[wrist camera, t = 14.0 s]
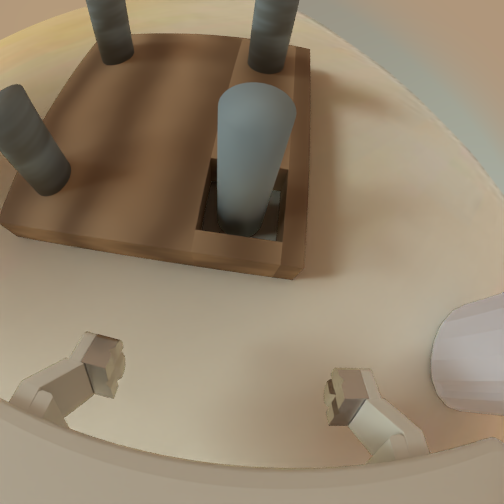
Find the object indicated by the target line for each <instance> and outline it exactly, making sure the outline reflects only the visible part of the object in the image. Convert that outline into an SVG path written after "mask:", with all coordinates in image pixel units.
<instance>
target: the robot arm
mask: <svg viewBox="0 0 504 504" xmlns="http://www.w3.org/2000/svg"><path fill="white" fill-rule="evenodd" d="M122 349H123V343H122V341H121V340H118V339H114V338H110V337H106V336H103V335H99V334H94V333H91V332H86V333H84V334H83V336H82V338H81V339H80V341H79V342H78V344H77V346H76V347H75V349H74V351H73V352H72V354H71V356H70V357H69V359H68V358H64V359H62V360H61V361H59V362H57V363H55V364H53V365H51V366H49V367H47V368H45V369H43V370H41V371H39V372H37V373H36V374H34V375H32V376H30V377H28V378H26V379H24V380H22V381H21V383H20V385H19V386H18V388H17V389H16V391H15V393H14V394H13V396H12V398H11V399H10V401H9V402H7V401H5V400H3V399H1V398H0V504H504V443H503V442H501V441H500V440H498V439H497V438H494V437H490V438H486V439H483V440H480V441H477V442H473V443H470V444H467V445H463V446H460V447H456V448H452V449H448V450H444V451H440V452H436V453H431V454H430V451H429V449H428V446H427V443H426V440H425V437H424V434H423V432H422V430H421V429H420V428H418V427H417V426H416V425H415V424H414V423H413V422H411V421H410V420H409V419H408V418H407V417H406V416H404V415H403V414H402V413H401V412H400V411H399V410H397V409H396V408H395V407H394V406H393V405H392V404H390V403H389V402H388V401H387V400H386V399H382V398H381V395H380V393H379V390H378V387H377V384H376V381H375V378H374V376H373V373H372V370H371V369H370V368H358V369H357V368H334V369H333V371H332V373H331V378H332V379H330V380H329V381H327V383H326V385H325V389H324V403H325V404H326V405H327V406H328V407H329V408H328V410H327V412H326V414H327V420H328V425H329V426H348V427H349V428H350V430H351V431H352V432H353V433H354V434H355V436H356V437H357V438H358V439H359V441H360V442H361V443H362V444H363V445H364V447H365V448H366V449H367V450H368V451H369V453H370V454H371V455H372V457H371V458H370V459H369V460H368V461H367V462H366V463H365V464H364V465H354V466H342V467H326V468H265V467H248V466H235V465H225V464H216V463H208V462H201V461H194V460H188V459H182V458H176V457H171V456H165V455H160V454H156V453H151V452H147V451H142V450H138V449H134V448H130V447H126V446H123V445H119V444H115V443H112V442H108V441H105V440H102V439H98V438H95V437H92V436H89V435H86V434H83V433H80V432H77V431H75V430H72V429H70V428H69V426H68V424H67V423H66V421H65V419H64V418H65V417H66V416H67V415H69V414H70V413H71V412H73V411H74V410H75V409H76V408H78V407H79V406H80V405H82V404H83V403H84V402H86V401H87V400H88V399H89V398H91V397H92V396H93V395H94V394H97V395H100V396H104V397H108V398H113V399H114V396H115V394H116V391H117V389H118V382H117V381H118V380H119V379H121V378H122V376H123V374H124V370H125V355H124V354H123V353H122Z"/></svg>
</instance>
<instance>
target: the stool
mask: <svg viewBox="0 0 504 504" xmlns="http://www.w3.org/2000/svg"><path fill="white" fill-rule="evenodd" d="M86 2H87V6H88V10H89V14H90V18H91V22H92V26H93V30H94V33H95V37H96V41H97V42H96V43H95V44H94V46H93V47H92V48H91V50H90V51H89V52H88V53H87V55H86V56H85V57H84V59H83V60H82V61H81V63H80V64H79V66H78V67H77V68H76V70H75V71H74V73H73V74H72V75H71V77H70V78H69V80H68V81H67V83H66V84H65V86H64V87H63V89H62V90H61V92H60V93H59V95H58V97H57V98H56V100H55V101H54V103H53V105H52V106H51V108H50V110H49V111H48V113H47V115H46V117H45V118H44V120H43V121H42V119H41V118H40V116H39V114H38V113H37V111H36V109H35V108H34V106H33V104H32V102H31V101H30V99H29V97H28V95H27V94H26V92H25V90H24V88H23V87H22V86H21V85H19V84H15V85H11V86H9V87H6V88H5V89H3V90H1V91H0V151H1V153H2V154H3V155H4V156H5V157H6V158H7V160H8V161H9V162H10V163H11V164H12V165H13V166H14V168H15V169H16V170H17V174H16V176H15V178H14V180H13V183H12V185H11V188H10V190H9V192H8V195H7V198H6V200H5V203H4V205H3V208H2V211H1V214H0V224H1V225H2V226H4V227H5V228H6V229H8V230H9V231H10V232H12V233H13V234H15V235H16V236H18V237H24V238H29V239H35V240H40V241H46V242H51V243H57V244H63V245H68V246H74V247H80V248H86V249H92V250H97V251H103V252H109V253H115V254H122V255H128V256H134V257H140V258H146V259H153V260H159V261H165V262H172V263H178V264H185V265H192V266H198V267H205V268H212V269H218V270H225V271H232V272H239V273H246V274H253V275H260V276H268V277H275V278H282V279H290V280H293V279H294V278H295V277H296V276H297V275H298V274H299V273H300V272H301V271H302V270H303V269H304V259H305V244H306V227H307V208H308V186H309V156H310V49H307V48H302V47H297V46H292V45H289V42H290V37H291V33H292V29H293V25H294V21H295V16H296V12H297V8H298V4H299V0H255V8H254V15H253V23H252V30H251V38H250V39H247V38H239V37H229V36H217V35H202V34H131V32H130V26H129V21H128V15H127V9H126V3H125V0H86ZM249 82H258V83H265V84H269V85H272V86H274V87H277V88H279V89H280V90H282V91H283V92H285V93H286V94H287V95H288V96H289V97H290V98H291V99H292V101H293V102H294V104H295V107H296V118H295V121H294V125H293V128H292V131H291V134H290V137H289V140H288V143H287V146H286V150H285V153H284V156H283V159H282V162H281V165H280V168H279V171H278V175H277V178H276V181H275V184H274V187H273V190H276V191H281V193H280V204H279V214H278V225H277V235H276V241H270V240H264V239H257V238H250V237H243V236H236V235H230V234H223V233H216V232H209V231H202V225H203V220H204V215H205V210H206V205H207V200H208V195H209V190H210V186H211V181H216V182H217V134H218V102H219V99H220V97H221V96H222V94H223V93H224V92H225V91H226V90H228V89H229V88H231V87H233V86H235V85H238V84H242V83H249Z"/></svg>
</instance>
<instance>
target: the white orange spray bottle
mask: <svg viewBox="0 0 504 504" xmlns="http://www.w3.org/2000/svg"><path fill="white" fill-rule="evenodd" d="M430 361H431V375H432V382H433V384H434V387H435V390H436V393H437V395H438V396H439V398H440V399H441V400H442V401H443V402H444V403H445V404H446V405H447V406H448V407H449V408H452V409H455V410H458V411H464V412H472V413H481V414H491V415H503V416H504V292H503V293H500V294H497V295H494V296H491V297H488V298H485V299H482V300H478V301H475V302H472V303H469V304H465V305H463V306H461V307H459V308H457V309H455V310H453V311H452V312H451V313H450V314H449V315H448V317H447V318H446V319H445V320H444V321H443V323H442V324H441V325H440V328H439V330H438V333H437V335H436V337H435V339H434V343H433V349H432V355H431V360H430Z"/></svg>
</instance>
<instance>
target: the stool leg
mask: <svg viewBox="0 0 504 504" xmlns="http://www.w3.org/2000/svg"><path fill="white" fill-rule="evenodd" d="M295 118H296V107H295V104H294V102H293V101H292V99H291V98H290V97H289V96H288V95H287V94H286V93H285V92H283V91H282V90H280V89H279V88H277V87H274V86H272V85H269V84H265V83H258V82H249V83H242V84H238V85H235V86H233V87H231V88H229V89H228V90H226V91H225V92H224V93H223V94H222V96H221V97H220V99H219V102H218V134H217V219H218V223H219V226H220V227H221V229H222V230H223V231H224V232H225V233H226V234H230V235H236V236H243V237H249V236H252V235H253V234H255V233H256V232H257V231H258V230H259V228H260V227H261V224H262V221H263V218H264V215H265V212H266V209H267V206H268V203H269V199H270V196H271V193H272V190H273V187H274V184H275V181H276V178H277V175H278V171H279V168H280V165H281V162H282V159H283V156H284V153H285V150H286V146H287V143H288V140H289V137H290V134H291V131H292V128H293V125H294V121H295Z"/></svg>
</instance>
